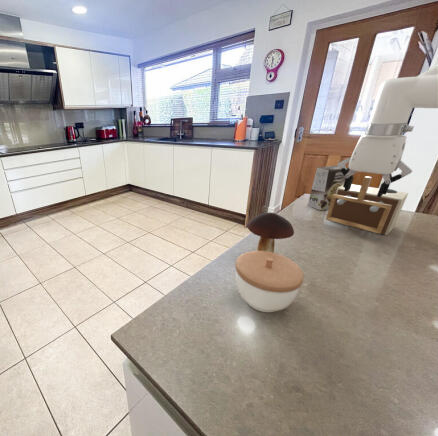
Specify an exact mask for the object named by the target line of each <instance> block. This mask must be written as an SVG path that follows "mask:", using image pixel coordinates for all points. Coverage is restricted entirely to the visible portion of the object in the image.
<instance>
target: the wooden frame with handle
mask: <svg viewBox="0 0 438 436" xmlns="http://www.w3.org/2000/svg"><path fill="white" fill-rule="evenodd" d="M372 178H373V177H372V176H369V175H368V176H367V175H366V176H364V177H363V180H362V183H361V185H360V186H361V189H360V192H359V195H358V198H353V197H347V196H342V195H337V194H333V196H332V199H331V202H330V206H329V209H327V213H326V217H325V220H326V221H331V222H333V223H338V224H341V225H345V226H349V227H353V228H356V229H360V230H364V231H368V232H371V233H376V234H381V231H382V229H383V226H384V224H385V221H386V219H387V217H388V214H389V212H390V209H391V207H392V205H389V204H384V203H379V202H373V201H368V200H364V198H365V195H366V193H367V190H368V187H370V184H371V181H372ZM336 198H338V199H343V200H348V201H352V202H357V203H362V204H367V205H372V206H377V207H382V208H385V210H384V213H383V215H382V218H381V220H380V223H379V225H378V228H377V229H376V228H373V227H369V226H365V225H361V224H357V223H353V222H349V221H345V220H341V219H337V218H333V217H331V214H332V211H333V208H334V204H335V201H336Z"/></svg>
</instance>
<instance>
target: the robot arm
mask: <svg viewBox="0 0 438 436" xmlns="http://www.w3.org/2000/svg"><path fill="white" fill-rule="evenodd" d="M413 109H438V63H437V64H436V65H434V66H432V67H430V68H428V69H427V70H425V71H423V72H422V73H420V74H418V75H417V76H405V77H396V78H389V79H386V80H384V81H383V82H382V83H381V84H380V86H379V88H378V91H377V94H376V98H375V100H374V104H373V107H372V110H371V114H370V117H369V120H368V123H367V126H366V129H365V132H364V134H362V135H360V138H359V139H358V141H357V142H356V145H355V147H354V148H353V149H354V150H353V152H352V154H351V156H350V157H348V158H346V159H344V160H342V161H339V162H337V164H336V166H338V167H339V169H340V170H341V172H342V173H343V175H344V176H345V178H346V179H345V182H344V185H343V187H344V188H345V189H344V191H348V190H350V188H351V185H352V184H353V181H354V174H356V173H357V172H359V173H368V174H377V175H382V178H383V182H382V183H381V184H380V185H379V186H380V187H379V192H378V194H377V196H378V197H381V196H382V195H383V194H386V193H387V190H388V189H390V186H391V184H392V183H394V182H397V181H399V180H401V179H402V178H405V177H406V176H408V175H410V174H411V173H413V170H412V169H411V168H410V167H409V165H407V164H406V163H405V162H404V161H403V160H402V158H403V154H404V151H405V147H406V143H407V136H406V135H404V134H405V133H412V132H413V131H414V128H415V127H414V126H413V125H408V122H409V119H410V117H411V114H412V111H413ZM346 164H348V167H347V168H349V169H350V170H348V169H347V168H346ZM398 169H399V170H400V171H401V172H400V173H397V174H395V175H393V173H394V172H396V171H397V170H398Z"/></svg>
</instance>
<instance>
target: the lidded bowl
mask: <svg viewBox="0 0 438 436" xmlns="http://www.w3.org/2000/svg"><path fill="white" fill-rule="evenodd" d="M234 274H235V275H234V276H235V285H236V288H237V291H238V293H239V295H240V296H241V298H242V299H243V300H244V301H245V302H246V304H248V306H250V307H251V308H252V309H254V310H256V311H258V312H262V313H275V312H278V311H282V310H284V309H286V308H287V307H290V306H291V305H292V303H294V301H295V300H296V298H297V296H298V294H299V292H300V289H301V286H302V284H303V282H304V277H305V276H304V272H303V270H302V268H301V267H300V266H299V265H298V264H297V263H296V262H295V261H293V260H291V259H290V258H288V257H286V256H284V255H282V254H280V253H276V252H274V253H273V252H268V251H256V250H251V251H246V252H244V253H242V254H240V255H239V256H238V257H237V258H236V261H235V273H234Z"/></svg>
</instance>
